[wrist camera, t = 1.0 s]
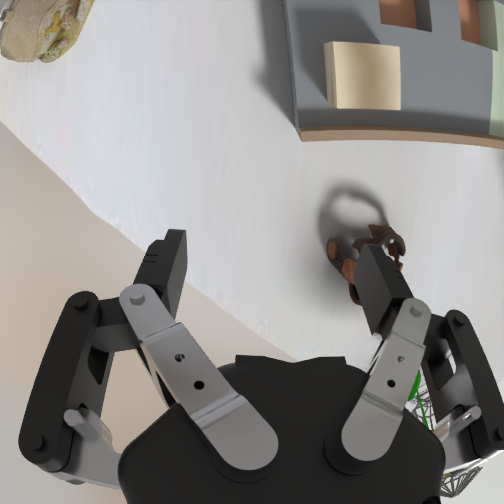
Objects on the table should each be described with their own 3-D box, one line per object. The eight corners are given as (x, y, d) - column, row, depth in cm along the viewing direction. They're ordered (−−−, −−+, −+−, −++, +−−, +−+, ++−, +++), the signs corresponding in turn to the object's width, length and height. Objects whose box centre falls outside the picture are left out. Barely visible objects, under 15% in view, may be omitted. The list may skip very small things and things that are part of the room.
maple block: (382, 46, 22) (399, 46, 19) (384, 102, 26) (400, 110, 23) (323, 43, 23) (333, 41, 20) (327, 101, 26) (337, 108, 23)
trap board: (509, 10, 18) (542, 12, 12) (507, 138, 29) (538, 156, 24) (276, -38, 20) (280, -60, 14) (294, 127, 32) (303, 144, 26)
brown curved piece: (321, 219, 40) (365, 235, 32) (371, 208, 43) (414, 221, 36) (321, 299, 44) (359, 325, 37) (368, 281, 47) (405, 301, 40)
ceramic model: (59, 76, 27) (7, 92, 19) (10, 49, 23) (-42, 60, 15) (117, -22, 20) (72, -38, 12) (58, -42, 16) (10, -52, 8)
